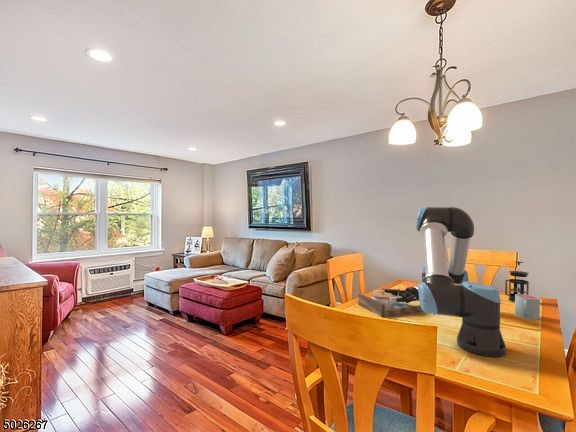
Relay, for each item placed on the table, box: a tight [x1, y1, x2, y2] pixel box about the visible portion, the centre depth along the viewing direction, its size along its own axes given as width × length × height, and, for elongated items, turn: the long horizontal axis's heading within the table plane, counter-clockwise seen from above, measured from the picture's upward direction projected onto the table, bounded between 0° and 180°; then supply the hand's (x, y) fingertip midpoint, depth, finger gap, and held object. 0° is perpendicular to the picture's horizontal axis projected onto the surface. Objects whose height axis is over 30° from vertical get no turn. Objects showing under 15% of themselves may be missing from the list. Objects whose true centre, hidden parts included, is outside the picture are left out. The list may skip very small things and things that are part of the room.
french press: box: [504, 260, 530, 303], centre depth 170 cm, size 12×9×23 cm
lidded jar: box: [371, 291, 394, 310], centre depth 152 cm, size 11×11×9 cm
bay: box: [357, 293, 425, 318], centre depth 154 cm, size 26×21×6 cm
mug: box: [514, 293, 541, 321], centre depth 140 cm, size 14×9×10 cm
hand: (381, 296), depth 153 cm, fingers open, 13 cm apart
